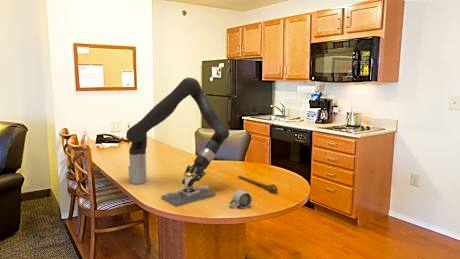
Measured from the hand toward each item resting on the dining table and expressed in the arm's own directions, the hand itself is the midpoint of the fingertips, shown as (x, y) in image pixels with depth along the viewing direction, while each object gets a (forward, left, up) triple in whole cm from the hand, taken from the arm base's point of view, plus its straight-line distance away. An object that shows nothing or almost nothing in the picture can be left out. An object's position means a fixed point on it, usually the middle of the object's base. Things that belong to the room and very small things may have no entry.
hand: (185, 185), depth 171 cm
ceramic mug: (+29, +2, -7) cm, 30 cm away
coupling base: (+1, +2, -7) cm, 7 cm away
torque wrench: (+25, +36, -7) cm, 44 cm away
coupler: (+1, +2, -4) cm, 5 cm away
